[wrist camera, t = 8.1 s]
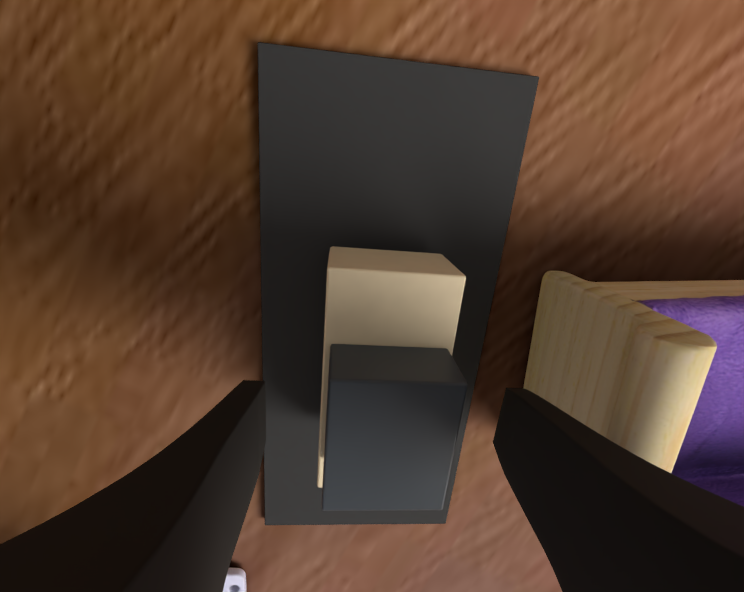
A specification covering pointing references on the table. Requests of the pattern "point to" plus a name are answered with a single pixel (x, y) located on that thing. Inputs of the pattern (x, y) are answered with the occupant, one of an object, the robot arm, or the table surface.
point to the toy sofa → (649, 370)
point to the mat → (371, 223)
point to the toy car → (389, 380)
